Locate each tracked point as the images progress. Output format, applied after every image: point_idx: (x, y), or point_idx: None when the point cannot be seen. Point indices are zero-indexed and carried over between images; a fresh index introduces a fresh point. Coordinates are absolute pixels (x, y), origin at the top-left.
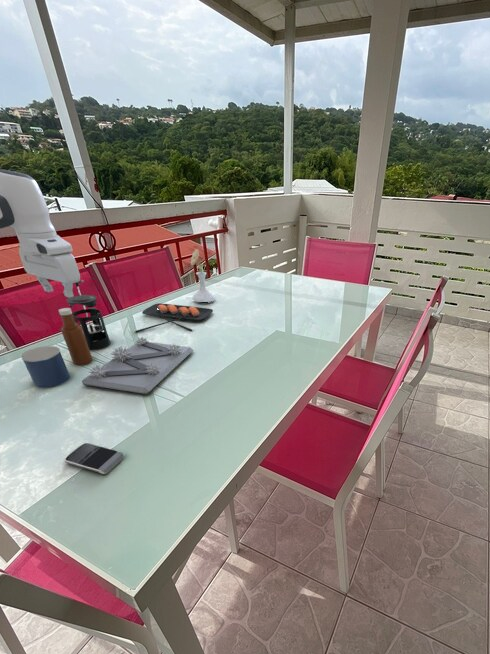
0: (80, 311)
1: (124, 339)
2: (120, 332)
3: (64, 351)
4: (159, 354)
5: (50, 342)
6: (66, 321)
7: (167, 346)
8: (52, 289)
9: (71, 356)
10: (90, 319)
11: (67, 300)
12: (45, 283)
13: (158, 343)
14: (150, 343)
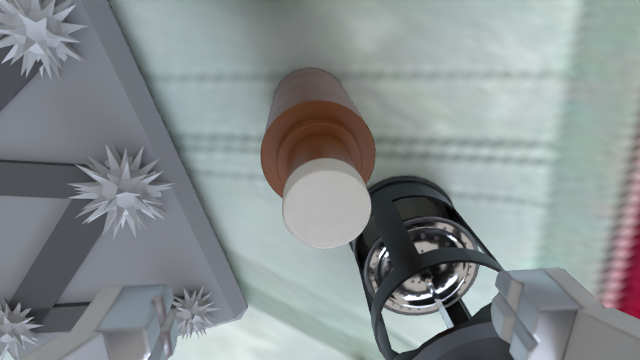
0: None
1: (350, 306)
2: (417, 333)
3: (465, 121)
4: (36, 280)
5: (593, 142)
6: (299, 152)
7: None
8: (497, 326)
9: (316, 73)
10: (379, 292)
11: None
12: (595, 357)
13: None
14: None
